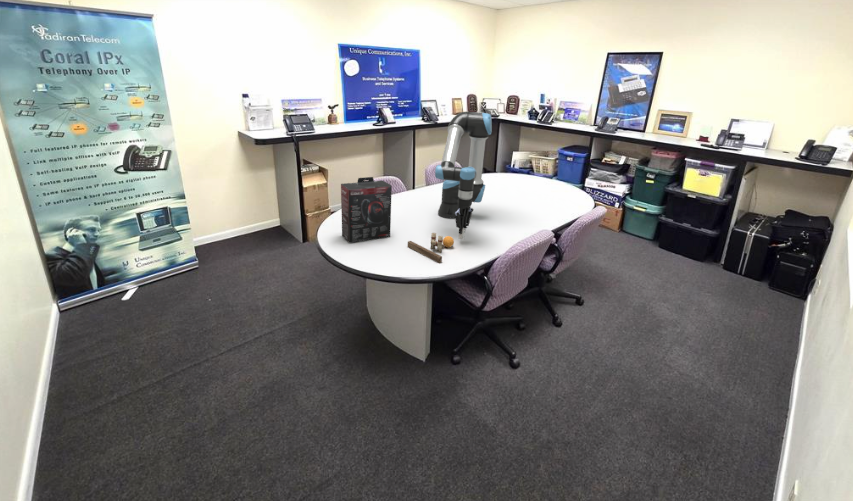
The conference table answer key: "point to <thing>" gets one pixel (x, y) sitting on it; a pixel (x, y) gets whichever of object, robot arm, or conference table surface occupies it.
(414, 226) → the conference table surface
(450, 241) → the ball
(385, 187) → the headset box
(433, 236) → the pin
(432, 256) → the back wall
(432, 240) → the front pin
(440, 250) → the pin
